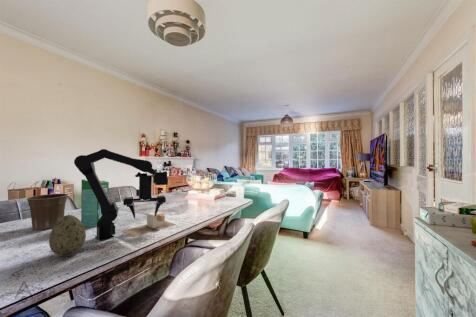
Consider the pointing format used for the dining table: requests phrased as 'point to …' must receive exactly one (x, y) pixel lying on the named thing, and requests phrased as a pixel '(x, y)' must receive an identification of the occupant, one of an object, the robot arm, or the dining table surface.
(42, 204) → the plant pot
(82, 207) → the milk carton
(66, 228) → the decorative egg
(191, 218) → the dining table surface
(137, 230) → the walnut stand
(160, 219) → the white rectangular block
